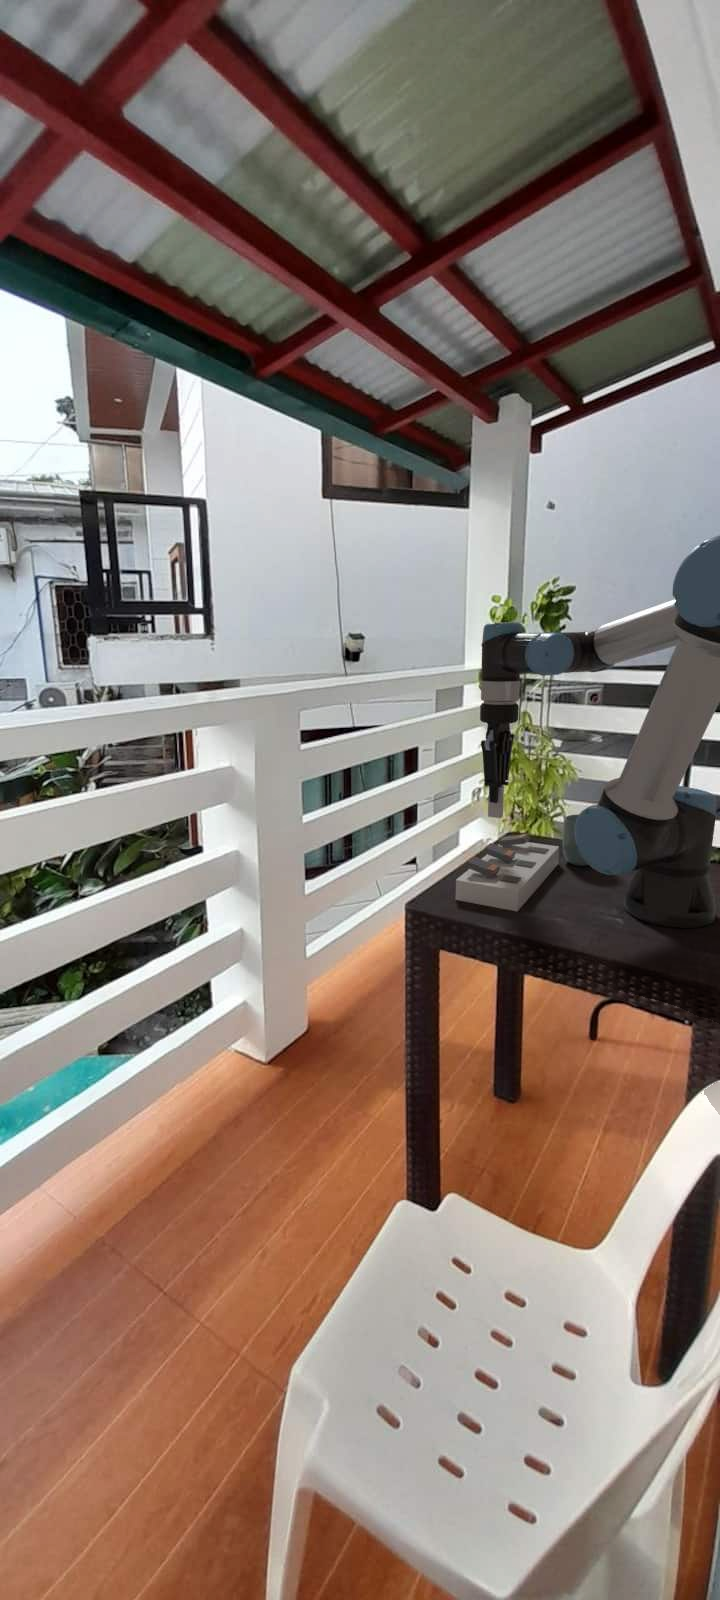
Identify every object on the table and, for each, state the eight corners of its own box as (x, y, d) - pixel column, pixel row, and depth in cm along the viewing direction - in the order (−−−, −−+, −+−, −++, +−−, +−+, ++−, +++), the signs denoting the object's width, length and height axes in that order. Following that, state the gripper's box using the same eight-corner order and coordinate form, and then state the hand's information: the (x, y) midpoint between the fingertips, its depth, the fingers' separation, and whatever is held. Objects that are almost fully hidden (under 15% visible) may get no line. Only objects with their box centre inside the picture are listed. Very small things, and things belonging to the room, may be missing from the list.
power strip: (567, 853, 160) (568, 835, 159) (517, 911, 127) (518, 889, 126) (516, 845, 166) (517, 828, 165) (455, 899, 133) (456, 878, 132)
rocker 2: (514, 858, 143) (516, 852, 143) (508, 863, 140) (510, 857, 140) (489, 847, 145) (490, 842, 145) (483, 852, 142) (485, 846, 142)
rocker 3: (529, 839, 151) (528, 833, 151) (525, 843, 148) (523, 837, 148) (505, 841, 154) (504, 835, 154) (500, 846, 151) (498, 840, 151)
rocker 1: (498, 872, 135) (500, 866, 134) (492, 878, 132) (494, 872, 131) (472, 861, 137) (474, 855, 137) (465, 867, 134) (467, 860, 134)
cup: (586, 871, 148) (590, 826, 146) (554, 862, 154) (557, 818, 151) (605, 863, 153) (609, 819, 151) (573, 855, 159) (576, 812, 156)
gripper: (493, 698, 147) (489, 807, 152) (469, 704, 136) (466, 821, 141) (528, 700, 143) (523, 812, 148) (506, 706, 132) (501, 826, 137)
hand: (495, 816), depth 145 cm, fingers closed
